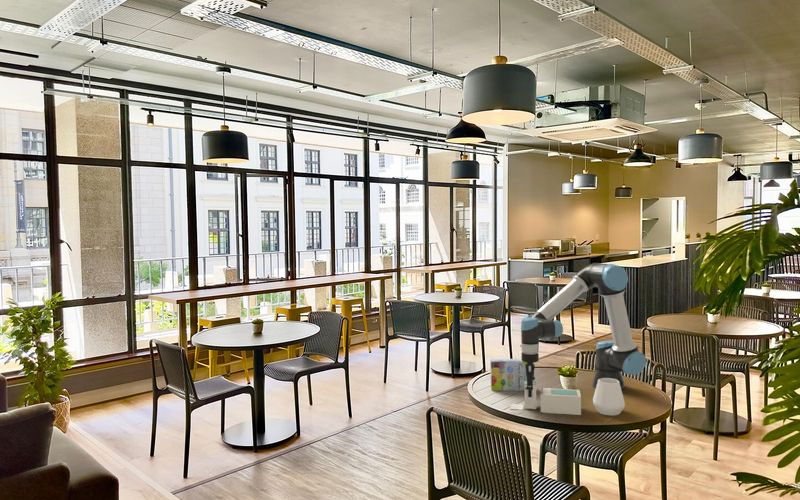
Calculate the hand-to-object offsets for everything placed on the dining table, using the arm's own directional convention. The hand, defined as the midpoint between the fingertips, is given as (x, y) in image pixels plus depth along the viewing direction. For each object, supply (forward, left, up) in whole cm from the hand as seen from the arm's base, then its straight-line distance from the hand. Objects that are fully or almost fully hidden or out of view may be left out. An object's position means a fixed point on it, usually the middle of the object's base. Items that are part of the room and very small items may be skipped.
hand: (530, 398), depth 251 cm
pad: (+6, 0, -4) cm, 7 cm away
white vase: (-34, -2, -4) cm, 34 cm away
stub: (0, 0, -4) cm, 4 cm away
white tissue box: (-13, 0, -4) cm, 14 cm away
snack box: (+9, -27, -4) cm, 29 cm away
